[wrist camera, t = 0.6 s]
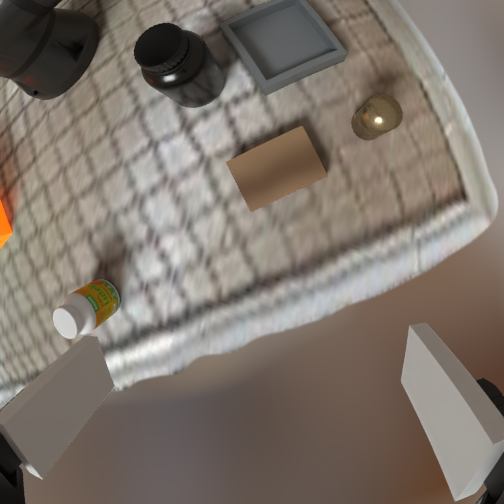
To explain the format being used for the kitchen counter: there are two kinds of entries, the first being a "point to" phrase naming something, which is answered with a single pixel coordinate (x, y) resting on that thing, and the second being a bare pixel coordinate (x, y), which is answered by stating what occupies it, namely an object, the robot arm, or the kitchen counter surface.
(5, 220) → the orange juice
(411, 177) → the kitchen counter surface
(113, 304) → the supplement bottle
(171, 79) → the supplement bottle
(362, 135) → the cylinder
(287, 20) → the tray
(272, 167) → the tan cardboard box
